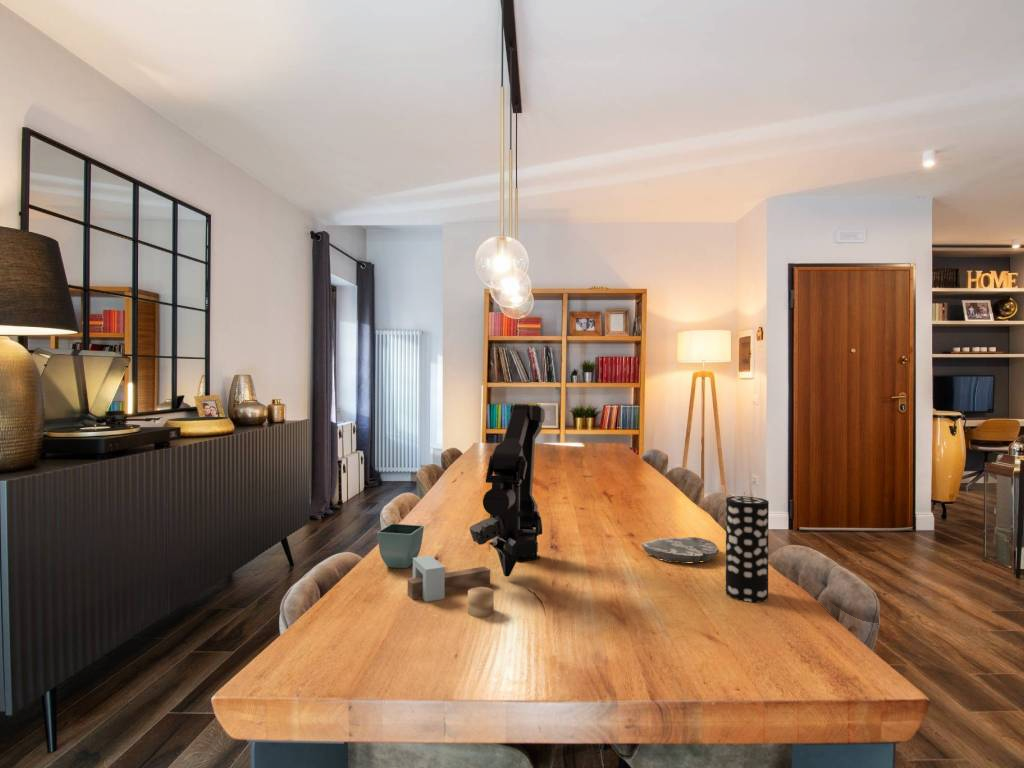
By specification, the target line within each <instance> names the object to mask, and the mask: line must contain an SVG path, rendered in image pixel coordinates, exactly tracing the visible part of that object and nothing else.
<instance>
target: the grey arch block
mask: <svg viewBox="0 0 1024 768" xmlns="http://www.w3.org/2000/svg"><path fill="white" fill-rule="evenodd" d="M445 568H446V567H445V566H444V565H443V564H441V563H440V562H439V560H437V559H436V558H434V557H433V556H432V555H424V556H417V557H415V558H413V563H412V579H413V578H419V577H423V598H422V600H424V602H433V601H439V600H440V601H441V600H444V599H445V594H444V587H445V573H446V572H445V571H446V570H445Z"/></svg>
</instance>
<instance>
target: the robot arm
mask: <svg viewBox="0 0 1024 768" xmlns="http://www.w3.org/2000/svg"><path fill="white" fill-rule="evenodd" d="M545 413H546V411H545V409H544V408H543V407H541V406H540V404H529V403H525V404H524V403H515V404H511V406H509V419H508V423H507V426H506V427H507V428H506V431H505V434H504V437H503V440H502V441H501V442H499V444H497V445H495V446H494V447H495V448H494V450H493V452H492V453H491V455H490V457H489V460H488V461H489V462H488V466H487V469H486V470H487V471H486V477H485V483H487V484H491V488H490V489H489V490H488V491H486V492H485V493H484V496H483V498H482V506H483V508H484V510H485V512H487V514H488V515H489V517H488V518H485V519H483V520H480V521H478V522H476V523H475V524H473V525H471V526H469V528H468V529H469V532H470V535H471V538H472V540H473V542H476V543H477V545H485V544H486V543H487V542H488V541H489V546H491V547H492V548H493V549H494V550H496V553H497V556H498V558H499V559H498V560H499V562H500V566H501V569H502V573H503V576H504V577H510V575H511V574H512V571H513V570H514V567H515V565H516V564H517V562H524V561H532V560H538V559H541V556H540V555H539V554H538V552H539V543H538V537H539V536H540V535H543V522H542V521H543V520H542V517H541V515H540V512H539V510H538V503H537V502H536V500H535V497H534V496H533V487H534V486H533V481H534V465H535V448H536V439H537V437H538V436H539V434H540V433H541V431H542V429H543V423H545V417H546V414H545ZM493 474H494V475H493ZM490 540H492V541H491V542H490Z"/></svg>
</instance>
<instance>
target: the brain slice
mask: <svg viewBox="0 0 1024 768" xmlns="http://www.w3.org/2000/svg"><path fill="white" fill-rule="evenodd" d="M641 547H642V548H643V550H644V551H645V552H646V554H648V555H649V554H651V555H653V556H652V557H654V556H655V557H654V558H656V557H657V558H656V559H657V560H659V559H663V561H664V560H666V561H679V562H698V561H707V562H709V561H710V560H712V559H713V558H715V557H716V556H717V554H718V553H719V551H720V549H719V548H718V546H717V545H716V544H715V542H713V541H711V540H708V539H705V538H701V537H696V536H695V537H694V536H691V537H662V538H661V537H660V538H655V539H654V540H649V541H645V542H642V543H641ZM651 555H650V556H651ZM708 560H709V561H708ZM666 561H665V562H666ZM679 562H678V563H679ZM698 563H699V562H698Z"/></svg>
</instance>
